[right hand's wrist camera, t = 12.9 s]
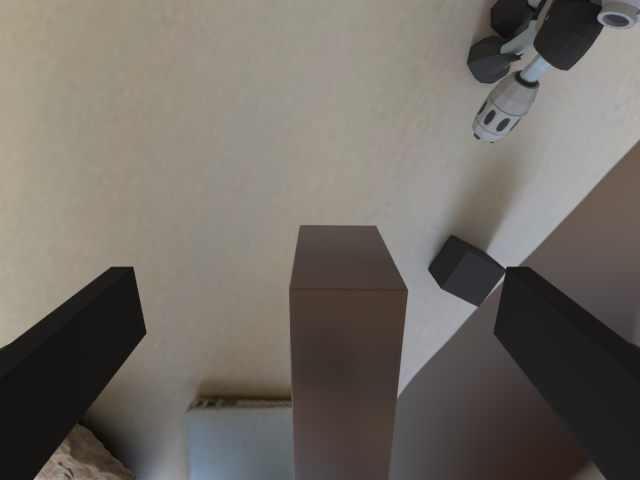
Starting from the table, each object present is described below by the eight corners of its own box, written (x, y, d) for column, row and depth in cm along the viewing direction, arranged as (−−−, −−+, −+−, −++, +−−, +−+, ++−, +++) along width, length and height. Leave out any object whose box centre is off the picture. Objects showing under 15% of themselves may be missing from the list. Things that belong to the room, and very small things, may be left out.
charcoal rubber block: (451, 234, 41) (468, 250, 37) (486, 252, 42) (507, 270, 37) (427, 269, 43) (440, 288, 38) (461, 286, 43) (479, 307, 39)
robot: (539, -90, 31) (881, -406, 12) (584, -62, 32) (973, -320, 13) (426, 124, 37) (538, 136, 18) (466, 144, 38) (614, 175, 19)
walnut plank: (299, 225, 21) (288, 288, 13) (376, 225, 21) (408, 289, 13) (303, 552, 31) (298, 692, 24) (355, 552, 31) (366, 692, 24)
